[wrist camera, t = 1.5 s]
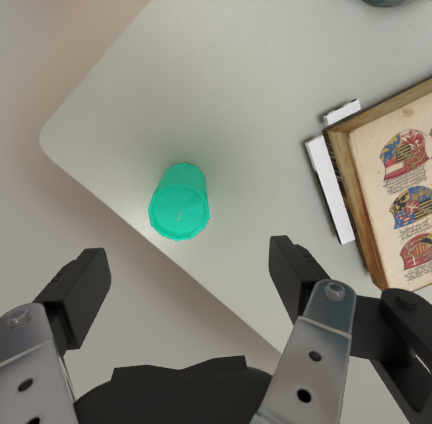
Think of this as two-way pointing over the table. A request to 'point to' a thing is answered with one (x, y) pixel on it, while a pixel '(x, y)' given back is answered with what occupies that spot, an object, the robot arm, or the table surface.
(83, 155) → the table surface
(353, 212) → the book
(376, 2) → the pot
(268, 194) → the table surface
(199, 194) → the candle
